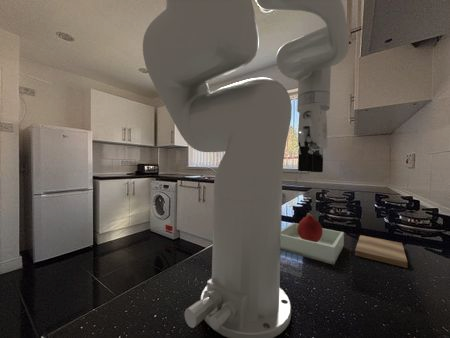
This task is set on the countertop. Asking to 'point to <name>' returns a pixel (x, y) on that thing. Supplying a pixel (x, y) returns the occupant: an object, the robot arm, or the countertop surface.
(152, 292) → the countertop surface
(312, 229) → the onion
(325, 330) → the countertop surface
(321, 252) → the bin
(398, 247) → the board
